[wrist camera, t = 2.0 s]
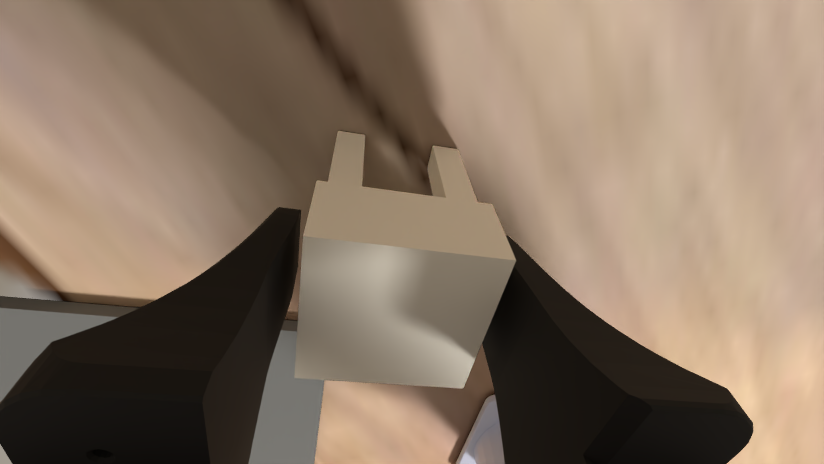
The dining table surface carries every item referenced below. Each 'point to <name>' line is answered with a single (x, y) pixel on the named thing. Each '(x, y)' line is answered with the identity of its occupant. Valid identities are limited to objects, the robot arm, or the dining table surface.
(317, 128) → the dining table surface
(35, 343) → the mat
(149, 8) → the dining table surface
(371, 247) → the cream block with pegs
